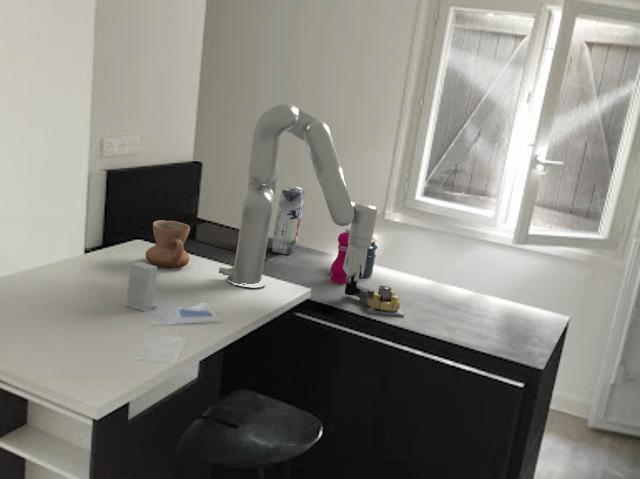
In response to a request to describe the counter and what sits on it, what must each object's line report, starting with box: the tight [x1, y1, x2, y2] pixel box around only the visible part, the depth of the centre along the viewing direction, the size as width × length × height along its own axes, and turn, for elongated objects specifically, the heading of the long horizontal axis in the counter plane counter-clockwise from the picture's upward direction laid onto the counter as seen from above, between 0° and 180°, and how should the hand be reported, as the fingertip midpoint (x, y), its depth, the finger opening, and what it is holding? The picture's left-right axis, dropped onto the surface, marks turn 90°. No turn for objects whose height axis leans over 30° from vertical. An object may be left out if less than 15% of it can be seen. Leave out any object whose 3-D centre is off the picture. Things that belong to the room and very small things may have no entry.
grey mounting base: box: [359, 284, 405, 318], centre depth 227 cm, size 12×12×8 cm
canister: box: [359, 235, 378, 279], centre depth 266 cm, size 13×13×18 cm
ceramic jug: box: [145, 219, 191, 270], centre depth 231 cm, size 18×14×14 cm
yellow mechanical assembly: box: [353, 285, 401, 311], centre depth 229 cm, size 19×11×4 cm, turn 52°
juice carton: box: [271, 186, 306, 256], centre depth 279 cm, size 9×10×27 cm
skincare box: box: [125, 261, 158, 312], centre depth 187 cm, size 6×4×12 cm
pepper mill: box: [329, 227, 351, 285], centre depth 249 cm, size 7×7×20 cm
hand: (349, 294), depth 230 cm, fingers closed
